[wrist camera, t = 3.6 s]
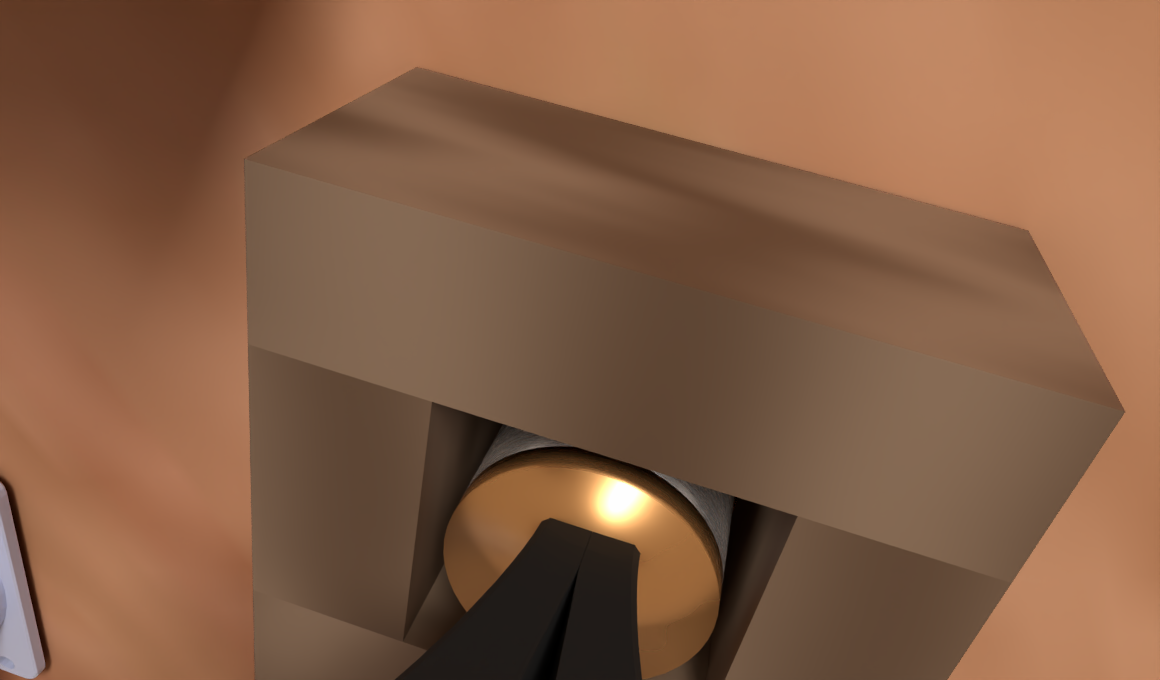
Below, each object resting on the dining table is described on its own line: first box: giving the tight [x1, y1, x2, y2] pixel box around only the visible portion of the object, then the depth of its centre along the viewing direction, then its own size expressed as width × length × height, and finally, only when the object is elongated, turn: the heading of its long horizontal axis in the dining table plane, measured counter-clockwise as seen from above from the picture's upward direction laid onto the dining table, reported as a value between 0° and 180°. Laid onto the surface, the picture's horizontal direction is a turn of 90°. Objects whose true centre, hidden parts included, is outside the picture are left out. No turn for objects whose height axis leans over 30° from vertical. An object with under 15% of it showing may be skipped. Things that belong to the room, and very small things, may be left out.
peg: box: [443, 424, 735, 679], centre depth 14 cm, size 4×4×4 cm
